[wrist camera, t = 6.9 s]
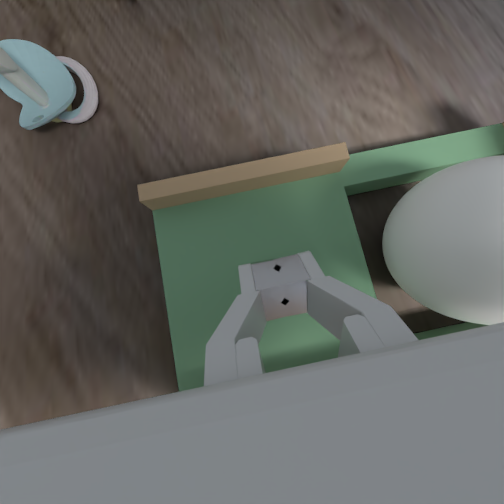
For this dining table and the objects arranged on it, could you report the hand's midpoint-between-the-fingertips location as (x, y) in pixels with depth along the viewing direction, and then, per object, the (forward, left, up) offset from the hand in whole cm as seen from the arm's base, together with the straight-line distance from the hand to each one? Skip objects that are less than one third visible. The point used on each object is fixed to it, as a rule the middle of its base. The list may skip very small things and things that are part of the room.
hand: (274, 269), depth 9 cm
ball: (-10, +1, -2) cm, 10 cm away
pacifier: (+13, -17, -6) cm, 22 cm away
